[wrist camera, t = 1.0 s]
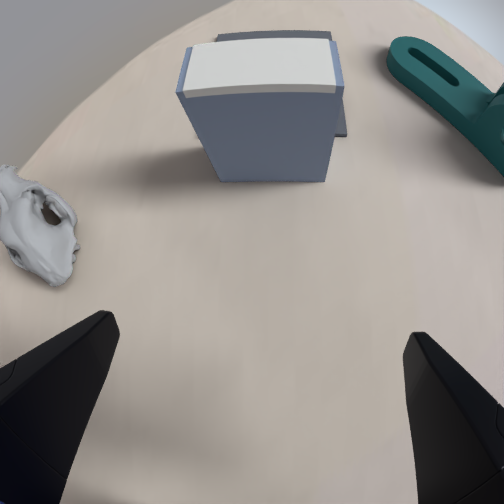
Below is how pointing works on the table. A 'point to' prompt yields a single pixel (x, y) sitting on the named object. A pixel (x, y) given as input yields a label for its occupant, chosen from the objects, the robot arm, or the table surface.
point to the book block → (264, 106)
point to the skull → (36, 228)
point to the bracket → (452, 94)
